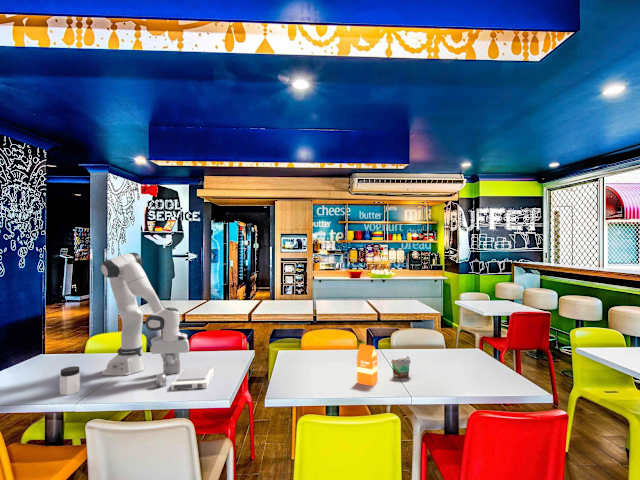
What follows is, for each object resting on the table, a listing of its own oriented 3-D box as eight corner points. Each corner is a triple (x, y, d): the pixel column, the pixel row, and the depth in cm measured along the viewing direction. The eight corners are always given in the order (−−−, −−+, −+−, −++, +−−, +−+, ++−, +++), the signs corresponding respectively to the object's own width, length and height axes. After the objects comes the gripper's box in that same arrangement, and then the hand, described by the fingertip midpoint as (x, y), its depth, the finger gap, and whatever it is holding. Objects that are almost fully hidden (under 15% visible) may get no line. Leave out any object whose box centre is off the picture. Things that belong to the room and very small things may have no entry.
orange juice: (371, 385, 191) (371, 348, 191) (356, 382, 196) (356, 345, 196) (377, 381, 198) (377, 344, 198) (363, 378, 202) (362, 342, 203)
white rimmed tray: (170, 390, 187) (170, 383, 187) (181, 375, 209) (181, 368, 209) (206, 388, 189) (206, 381, 189) (213, 373, 212) (213, 366, 212)
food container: (398, 380, 198) (398, 362, 198) (391, 377, 203) (391, 359, 203) (415, 376, 203) (415, 359, 204) (408, 373, 209) (407, 356, 209)
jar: (77, 387, 193) (77, 365, 193) (82, 391, 188) (82, 368, 188) (57, 392, 186) (57, 369, 186) (62, 396, 181) (62, 372, 181)
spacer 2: (164, 366, 202) (165, 355, 202) (166, 363, 207) (166, 353, 207) (173, 366, 203) (173, 355, 203) (174, 363, 208) (175, 353, 208)
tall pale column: (161, 374, 211) (161, 337, 211) (164, 372, 215) (163, 335, 215) (179, 374, 212) (179, 336, 212) (182, 371, 216) (181, 334, 216)
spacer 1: (155, 388, 191) (155, 376, 191) (158, 384, 195) (158, 373, 196) (164, 387, 191) (164, 376, 192) (167, 384, 196) (166, 373, 196)
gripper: (149, 338, 200) (148, 363, 199) (188, 337, 205) (187, 361, 204) (152, 335, 206) (151, 359, 206) (190, 334, 211) (189, 358, 210)
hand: (169, 360), depth 205 cm, fingers closed on spacer 2, 5 cm apart
